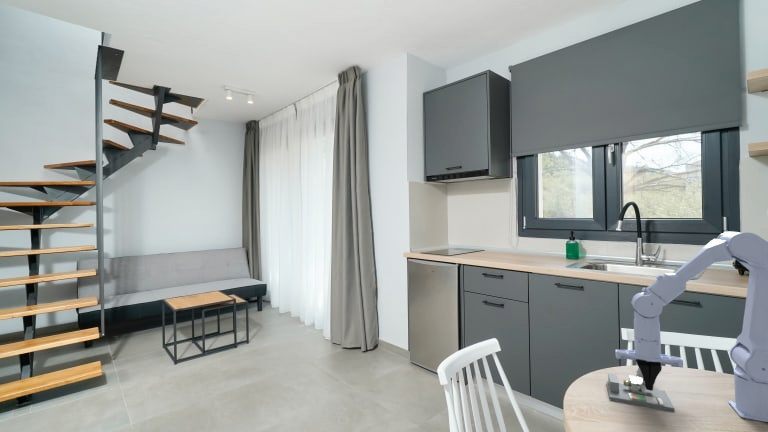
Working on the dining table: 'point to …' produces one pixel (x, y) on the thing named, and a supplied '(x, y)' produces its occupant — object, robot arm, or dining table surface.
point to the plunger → (635, 384)
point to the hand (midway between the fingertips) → (648, 388)
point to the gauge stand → (637, 395)
